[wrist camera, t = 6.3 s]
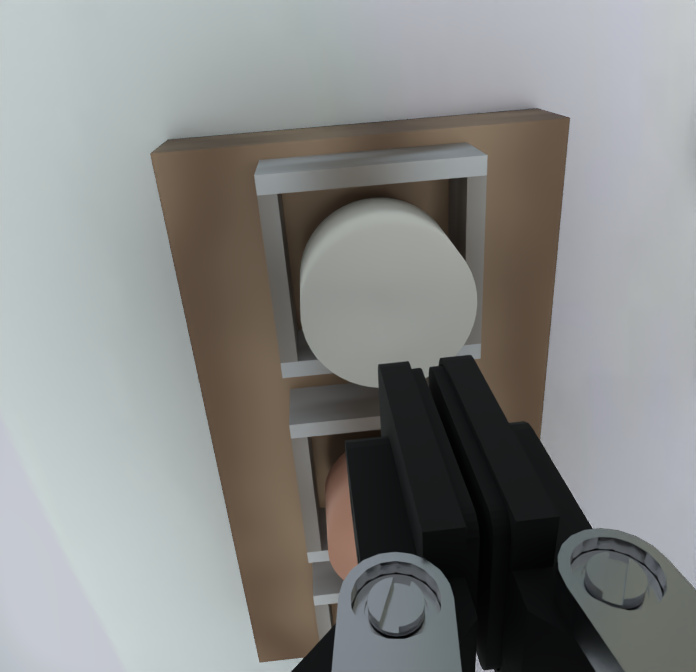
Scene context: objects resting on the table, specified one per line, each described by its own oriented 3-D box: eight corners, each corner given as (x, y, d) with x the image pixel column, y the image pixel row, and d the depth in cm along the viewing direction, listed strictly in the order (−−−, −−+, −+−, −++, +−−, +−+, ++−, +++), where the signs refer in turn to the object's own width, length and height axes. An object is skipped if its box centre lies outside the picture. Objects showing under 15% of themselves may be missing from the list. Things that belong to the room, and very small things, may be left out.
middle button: (451, 429, 22) (471, 482, 20) (450, 528, 25) (468, 587, 22) (319, 443, 22) (321, 498, 20) (330, 541, 24) (334, 602, 22)
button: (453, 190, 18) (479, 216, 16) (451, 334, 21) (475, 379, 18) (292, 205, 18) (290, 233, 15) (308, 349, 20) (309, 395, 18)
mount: (537, 108, 23) (603, 128, 18) (504, 586, 34) (538, 677, 29) (168, 139, 22) (131, 168, 17) (262, 613, 34) (256, 710, 29)
